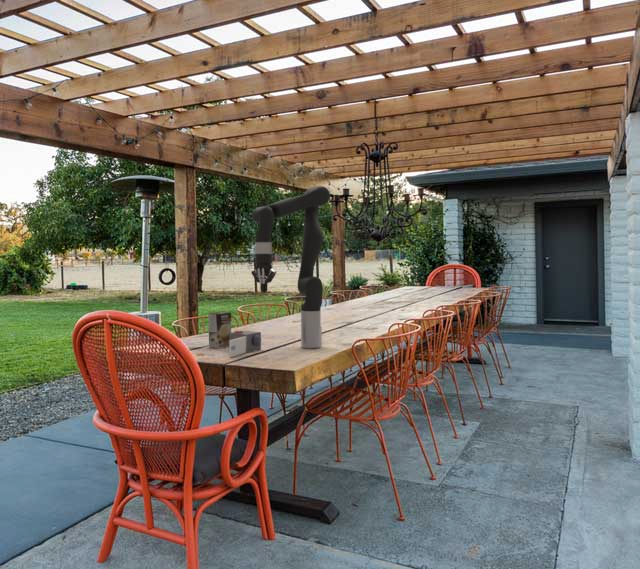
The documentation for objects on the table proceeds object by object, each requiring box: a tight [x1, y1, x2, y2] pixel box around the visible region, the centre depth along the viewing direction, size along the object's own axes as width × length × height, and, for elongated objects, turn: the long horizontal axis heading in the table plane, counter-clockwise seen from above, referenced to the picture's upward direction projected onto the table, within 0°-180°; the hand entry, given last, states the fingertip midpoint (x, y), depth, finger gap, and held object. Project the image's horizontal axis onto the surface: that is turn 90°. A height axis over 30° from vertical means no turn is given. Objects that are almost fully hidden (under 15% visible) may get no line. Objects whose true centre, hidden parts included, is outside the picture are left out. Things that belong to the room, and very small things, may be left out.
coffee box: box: [208, 311, 232, 349], centre depth 266 cm, size 9×6×16 cm
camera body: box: [230, 330, 262, 353], centre depth 256 cm, size 10×11×9 cm
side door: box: [228, 336, 248, 358], centre depth 243 cm, size 2×13×7 cm, turn 157°
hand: (264, 292), depth 246 cm, fingers closed
